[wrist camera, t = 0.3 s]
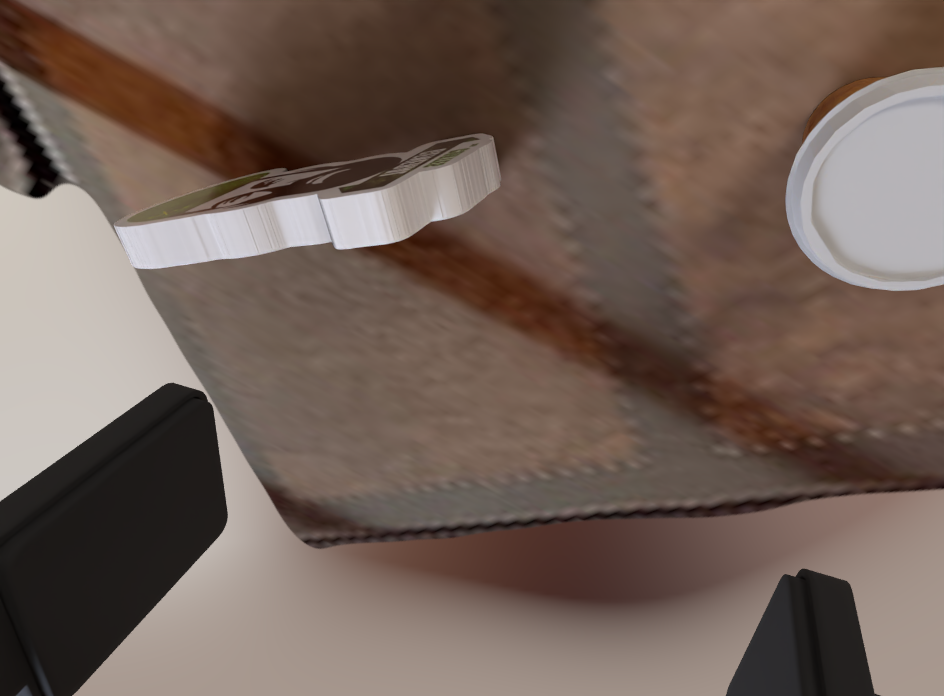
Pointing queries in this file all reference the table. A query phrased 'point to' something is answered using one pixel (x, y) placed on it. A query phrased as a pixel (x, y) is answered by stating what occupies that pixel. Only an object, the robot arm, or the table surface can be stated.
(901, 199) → the disposable coffee cup
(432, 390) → the table surface
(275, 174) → the cutout
